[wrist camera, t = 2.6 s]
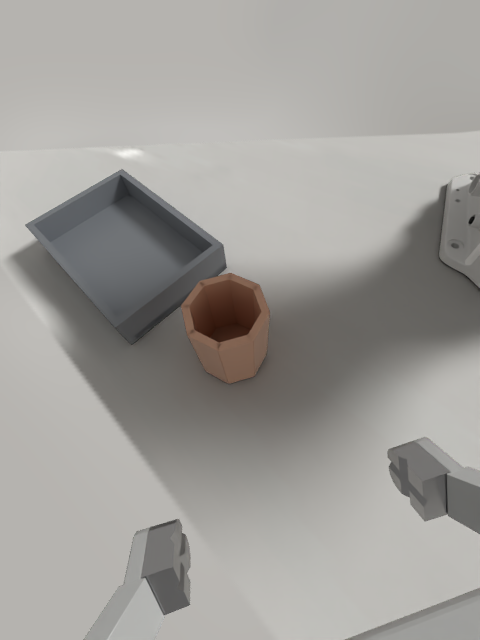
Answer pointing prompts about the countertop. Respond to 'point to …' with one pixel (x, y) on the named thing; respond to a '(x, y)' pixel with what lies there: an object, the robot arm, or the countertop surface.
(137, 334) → the tray
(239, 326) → the cup
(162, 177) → the countertop surface
